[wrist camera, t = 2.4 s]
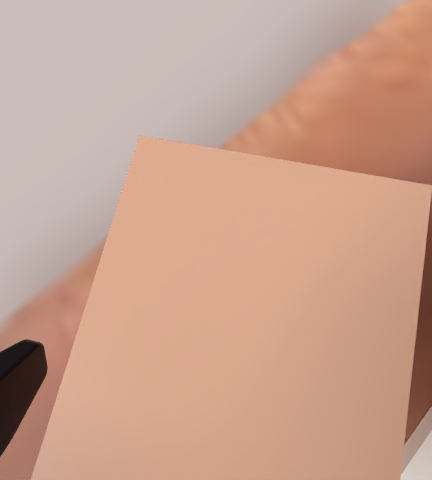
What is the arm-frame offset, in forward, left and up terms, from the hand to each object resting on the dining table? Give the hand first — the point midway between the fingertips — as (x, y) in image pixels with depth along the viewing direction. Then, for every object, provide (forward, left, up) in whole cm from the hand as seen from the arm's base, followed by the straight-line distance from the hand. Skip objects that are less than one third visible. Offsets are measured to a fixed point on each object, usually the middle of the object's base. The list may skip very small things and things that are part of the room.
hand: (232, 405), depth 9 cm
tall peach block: (+1, 0, -9) cm, 9 cm away
